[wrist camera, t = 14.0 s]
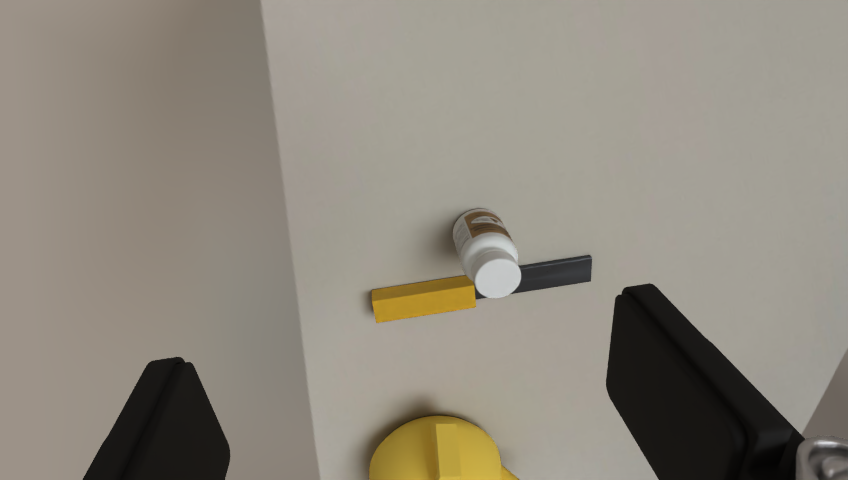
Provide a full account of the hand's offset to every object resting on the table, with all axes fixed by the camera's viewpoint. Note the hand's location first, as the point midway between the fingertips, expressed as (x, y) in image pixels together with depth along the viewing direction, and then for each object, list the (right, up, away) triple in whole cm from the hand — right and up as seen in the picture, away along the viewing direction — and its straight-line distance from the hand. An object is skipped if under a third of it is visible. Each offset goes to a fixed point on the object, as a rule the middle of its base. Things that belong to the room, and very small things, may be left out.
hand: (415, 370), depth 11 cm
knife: (+6, -1, +34) cm, 34 cm away
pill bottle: (+5, +4, +31) cm, 32 cm away
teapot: (+3, -21, +44) cm, 49 cm away
